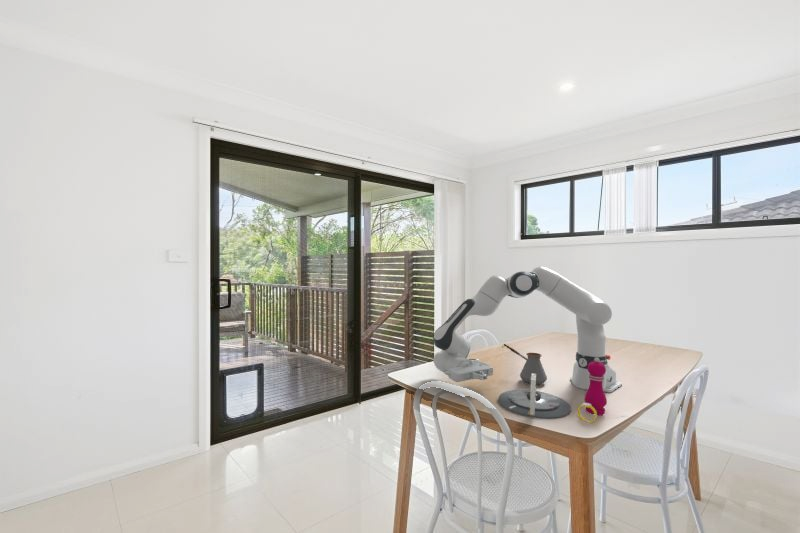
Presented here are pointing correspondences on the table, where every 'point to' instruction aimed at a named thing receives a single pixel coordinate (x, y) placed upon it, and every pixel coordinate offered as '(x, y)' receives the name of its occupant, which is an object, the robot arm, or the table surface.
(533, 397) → the dial
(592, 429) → the table surface
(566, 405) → the dial base
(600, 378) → the pepper mill
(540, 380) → the coffee pot
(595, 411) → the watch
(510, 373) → the table surface
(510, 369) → the table surface
